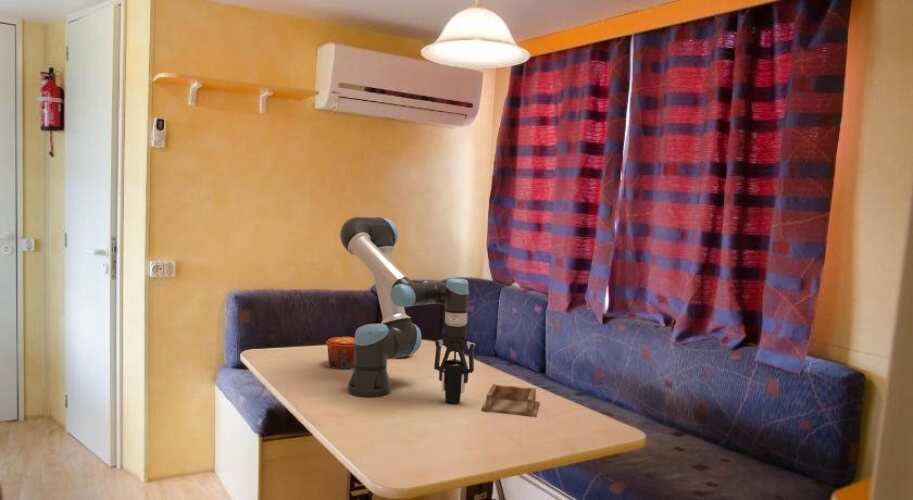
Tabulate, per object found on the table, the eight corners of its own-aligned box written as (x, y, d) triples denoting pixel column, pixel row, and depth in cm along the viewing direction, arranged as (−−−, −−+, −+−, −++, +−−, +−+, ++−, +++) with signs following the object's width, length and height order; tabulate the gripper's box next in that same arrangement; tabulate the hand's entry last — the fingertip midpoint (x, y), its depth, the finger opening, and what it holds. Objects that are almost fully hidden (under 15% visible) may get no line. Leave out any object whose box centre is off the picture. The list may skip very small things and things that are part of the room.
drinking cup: (461, 406, 218) (464, 347, 216) (439, 404, 219) (442, 345, 218) (465, 400, 225) (468, 343, 224) (444, 398, 227) (447, 341, 225)
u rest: (481, 410, 214) (481, 394, 214) (488, 399, 228) (488, 383, 227) (535, 416, 210) (536, 400, 210) (539, 404, 224) (540, 388, 224)
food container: (372, 365, 270) (373, 339, 269) (346, 372, 256) (347, 345, 256) (343, 359, 278) (344, 334, 278) (316, 366, 265) (317, 340, 264)
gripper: (425, 323, 219) (423, 391, 220) (481, 328, 215) (478, 397, 216) (431, 320, 226) (428, 385, 228) (485, 324, 222) (482, 391, 224)
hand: (453, 391), depth 222 cm, fingers closed on drinking cup, 6 cm apart
